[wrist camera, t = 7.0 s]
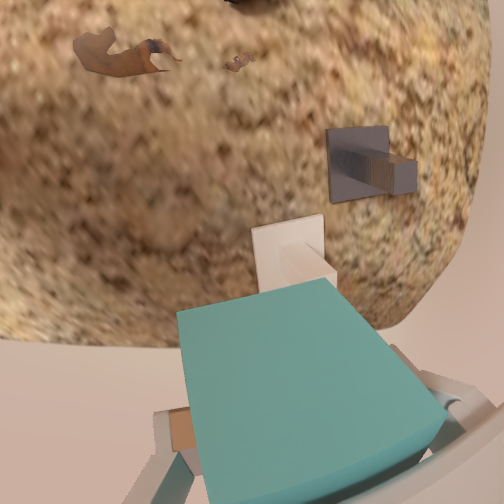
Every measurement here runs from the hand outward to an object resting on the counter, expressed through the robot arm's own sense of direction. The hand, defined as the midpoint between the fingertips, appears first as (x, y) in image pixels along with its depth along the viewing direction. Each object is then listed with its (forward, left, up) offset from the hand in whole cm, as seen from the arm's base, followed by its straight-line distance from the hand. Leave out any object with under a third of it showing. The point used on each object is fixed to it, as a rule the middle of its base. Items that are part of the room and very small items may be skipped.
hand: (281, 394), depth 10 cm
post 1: (+8, -6, -20) cm, 22 cm away
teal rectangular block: (0, 0, -2) cm, 2 cm away
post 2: (+16, +2, -20) cm, 25 cm away
